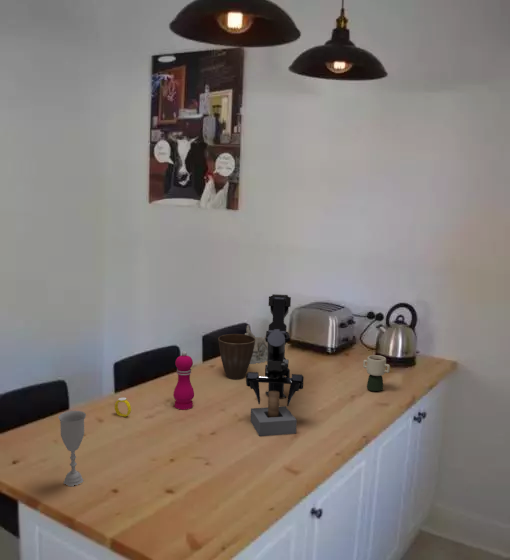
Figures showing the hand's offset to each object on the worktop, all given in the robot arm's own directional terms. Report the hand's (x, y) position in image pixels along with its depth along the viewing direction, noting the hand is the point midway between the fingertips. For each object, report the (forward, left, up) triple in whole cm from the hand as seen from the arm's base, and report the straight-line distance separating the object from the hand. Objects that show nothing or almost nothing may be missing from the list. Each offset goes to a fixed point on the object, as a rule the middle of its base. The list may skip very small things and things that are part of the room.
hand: (273, 404), depth 195 cm
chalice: (+24, -61, -8) cm, 66 cm away
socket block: (-1, 0, -8) cm, 8 cm away
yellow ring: (-19, -47, -8) cm, 51 cm away
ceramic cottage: (-76, +14, -9) cm, 78 cm away
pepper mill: (-24, -26, -8) cm, 36 cm away
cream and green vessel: (-29, +49, -8) cm, 58 cm away
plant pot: (-53, -1, -8) cm, 54 cm away
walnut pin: (-1, 0, -7) cm, 7 cm away
